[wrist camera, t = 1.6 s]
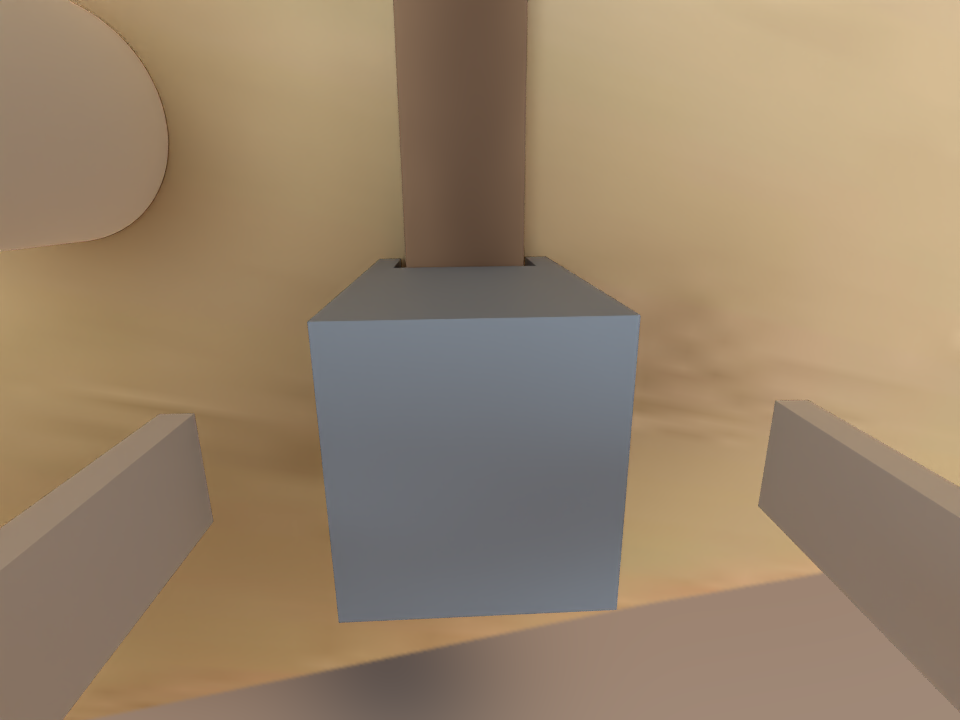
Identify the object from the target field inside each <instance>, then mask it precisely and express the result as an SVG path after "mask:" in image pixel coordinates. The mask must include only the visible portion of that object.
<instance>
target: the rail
mask: <svg viewBox="0 0 960 720" xmlns="http://www.w3.org/2000/svg"><path fill="white" fill-rule="evenodd" d="M393 5H394V26H395V47H396V68H397V88H398V109H399V130H400V151H401V172H402V192H403V213H404V234H405V255H406V268H420V267H488V266H523V262H524V198H525V134H526V70H527V6H528V0H393Z"/></svg>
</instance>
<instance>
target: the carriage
mask: <svg viewBox="0 0 960 720" xmlns="http://www.w3.org/2000/svg"><path fill="white" fill-rule="evenodd" d="M307 323H308V333H309V342H310V352H311V361H312V371H313V380H314V390H315V399H316V409H317V418H318V428H319V437H320V447H321V456H322V466H323V476H324V485H325V495H326V504H327V514H328V523H329V533H330V542H331V552H332V561H333V571H334V580H335V590H336V599H337V609H338V618H339V623H342V622H364V621H386V620H407V619H429V618H450V617H472V616H493V615H515V614H536V613H558V612H579V611H601V610H617V598H618V585H619V573H620V561H621V549H622V536H623V524H624V512H625V499H626V487H627V475H628V463H629V450H630V438H631V426H632V413H633V401H634V389H635V377H636V364H637V352H638V340H639V327H640V315H639V314H638V313H636V312H634V311H633V310H631V309H629V308H628V307H626V306H625V305H623V304H621V303H620V302H618V301H617V300H615V299H613V298H612V297H610V296H608V295H607V294H605V293H604V292H602V291H600V290H599V289H597V288H596V287H594V286H592V285H591V284H589V283H587V282H586V281H584V280H583V279H581V278H579V277H578V276H576V275H575V274H573V273H571V272H570V271H568V270H566V269H565V268H563V267H562V266H560V265H558V264H557V263H555V262H554V261H552V260H550V259H549V258H547V257H525V266H488V267H420V268H401V259H379V260H378V261H377V262H376V263H375V264H373V265H372V266H371V267H370V268H369V269H368V270H366V271H365V272H364V273H363V274H362V275H361V276H360V277H358V278H357V279H356V280H355V281H354V282H353V283H352V284H350V285H349V286H348V287H347V288H346V289H345V290H343V291H342V292H341V293H340V294H339V295H338V296H337V297H335V298H334V299H333V300H332V301H331V302H330V303H328V304H327V305H326V306H325V307H324V308H323V309H322V310H320V311H319V312H318V313H317V314H316V315H315V316H313V317H312V318H311V319H310V320H309V321H308V322H307Z"/></svg>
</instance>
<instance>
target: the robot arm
mask: <svg viewBox="0 0 960 720" xmlns="http://www.w3.org/2000/svg"><path fill="white" fill-rule="evenodd" d="M758 506H759V507H760V508H761V509H762V510H763V511H764V512H765V513H766V514H767V515H768V516H769V517H770V519H771V520H772V521H773V522H774V523H775V524H776V525H777V526H778V527H779V528H780V529H781V530H782V531H783V532H784V533H785V534H786V535H787V536H788V537H789V538H790V539H791V540H792V541H793V542H794V543H795V544H796V545H797V546H798V547H799V548H800V549H801V550H802V551H803V552H804V553H805V554H806V555H807V556H808V557H809V558H810V559H811V561H812V562H813V563H814V564H815V565H816V566H817V567H818V568H819V569H820V570H821V571H822V572H823V573H824V574H825V575H826V576H827V577H828V578H829V579H830V580H831V581H832V582H833V583H834V584H835V585H836V586H837V587H838V588H839V589H840V590H841V591H842V592H843V593H844V594H845V595H846V596H847V597H848V598H849V599H850V600H851V601H852V603H854V605H855V606H857V608H858V609H859V610H860V611H861V612H862V613H863V614H864V615H865V616H866V617H867V618H868V619H869V620H870V621H871V622H872V623H873V624H874V625H875V626H876V627H877V628H878V629H879V630H880V631H881V632H882V633H883V634H884V635H885V636H886V637H887V638H888V639H889V640H890V641H891V642H892V643H893V644H894V646H896V648H897V649H898V650H899V651H900V652H901V653H902V654H903V655H904V656H905V657H906V658H907V659H908V660H909V661H910V662H911V663H912V664H913V665H914V666H915V667H916V668H917V669H918V670H919V671H920V672H921V673H922V674H923V675H924V676H925V677H926V678H927V679H928V680H929V681H930V682H931V683H932V684H933V685H934V686H935V687H936V689H938V691H939V692H940V693H941V694H942V695H943V696H944V697H945V698H946V699H947V700H948V701H949V702H950V703H951V704H952V705H953V706H954V707H955V708H956V709H957V710H958V711H959V712H960V487H959V486H957V485H955V484H953V483H952V482H950V481H948V480H946V479H945V478H943V477H941V476H939V475H938V474H936V473H934V472H932V471H931V470H929V469H927V468H926V467H924V466H922V465H920V464H919V463H917V462H915V461H913V460H912V459H910V458H908V457H906V456H905V455H903V454H901V453H899V452H898V451H896V450H894V449H892V448H891V447H889V446H887V445H886V444H884V443H882V442H880V441H879V440H877V439H875V438H873V437H872V436H870V435H868V434H866V433H865V432H863V431H861V430H859V429H858V428H856V427H854V426H852V425H851V424H849V423H847V422H846V421H844V420H842V419H840V418H839V417H837V416H835V415H833V414H832V413H830V412H828V411H826V410H825V409H823V408H821V407H819V406H818V405H816V404H814V403H812V402H811V401H809V400H780V401H775V406H774V412H773V418H772V424H771V430H770V436H769V443H768V449H767V455H766V461H765V467H764V473H763V479H762V486H761V492H760V498H759V504H758ZM212 523H213V517H212V511H211V505H210V499H209V494H208V488H207V482H206V477H205V471H204V465H203V460H202V454H201V448H200V443H199V437H198V431H197V426H196V420H195V414H194V413H187V414H159V415H157V416H156V417H154V418H153V419H152V420H150V421H149V422H147V423H146V424H145V425H143V426H142V427H140V428H139V429H138V430H136V431H135V432H133V433H132V434H131V435H129V436H128V437H126V438H125V439H124V440H122V441H121V442H120V443H118V444H117V445H115V446H114V447H113V448H111V449H110V450H108V451H107V452H106V453H104V454H103V455H101V456H100V457H99V458H97V459H96V460H94V461H93V462H92V463H90V464H89V465H87V466H86V467H85V468H83V469H82V470H80V471H79V472H78V473H76V474H75V475H74V476H72V477H71V478H69V479H68V480H67V481H65V482H64V483H62V484H61V485H60V486H58V487H57V488H55V489H54V490H53V491H51V492H50V493H48V494H47V495H46V496H44V497H43V498H41V499H40V500H39V501H37V502H36V503H35V504H33V505H32V506H30V507H29V508H28V509H26V510H25V511H23V512H22V513H21V514H19V515H18V516H16V517H15V518H14V519H12V520H11V521H9V522H8V523H7V524H5V525H4V526H2V527H1V528H0V720H63V719H64V717H65V716H66V715H67V713H68V712H69V711H70V709H71V708H72V707H73V705H74V704H75V703H76V702H77V700H78V699H79V698H80V696H81V695H82V694H83V692H84V691H85V690H86V688H87V687H88V686H89V684H90V683H91V682H92V680H93V679H94V678H95V677H96V675H97V674H98V673H99V671H100V670H101V669H102V667H103V666H104V665H105V663H106V662H107V661H108V659H109V658H110V657H111V656H112V654H113V653H114V652H115V650H116V649H117V648H118V646H119V645H120V644H121V642H122V641H123V640H124V638H125V637H126V636H127V634H128V633H129V632H130V631H131V629H132V628H133V627H134V625H135V624H136V623H137V621H138V620H139V619H140V617H141V616H142V615H143V613H144V612H145V611H146V610H147V608H148V607H149V606H150V604H151V603H152V602H153V600H154V599H155V598H156V596H157V595H158V594H159V592H160V591H161V590H162V588H163V587H164V586H165V585H166V583H167V582H168V581H169V579H170V578H171V577H172V575H173V574H174V573H175V571H176V570H177V569H178V567H179V566H180V565H181V564H182V562H183V561H184V560H185V558H186V557H187V556H188V554H189V553H190V552H191V550H192V549H193V548H194V546H195V545H196V544H197V542H198V541H199V540H200V539H201V537H202V536H203V535H204V533H205V532H206V531H207V529H208V528H209V527H210V525H211V524H212Z"/></svg>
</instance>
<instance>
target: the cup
mask: <svg viewBox="0 0 960 720" xmlns="http://www.w3.org/2000/svg"><path fill="white" fill-rule="evenodd" d="M167 158H168V131H167V124H166V118H165V114H164V110H163V106H162V103H161V100H160V97H159V95H158V92H157V90H156V88H155V85H154V83H153V81H152V79H151V77H150V75H149V74H148V72H147V70H146V68H145V67H144V65H143V64H142V62H141V61H140V59H139V58H138V56H137V55H136V54H135V53H134V51H133V50H132V49H131V48H130V46H129V45H128V44H127V43H126V42H125V41H124V40H123V39H122V38H121V37H120V36H119V35H118V34H117V33H116V32H115V31H114V30H113V29H112V28H111V27H110V26H108V25H107V24H106V23H104V22H103V21H102V20H101V19H99V18H98V17H97V16H95V15H93V14H92V13H90V12H89V11H87V10H86V9H84V8H82V7H80V6H78V5H76V4H75V3H73V2H71V1H69V0H0V251H9V250H17V249H25V248H34V247H42V246H51V245H59V244H67V243H76V242H84V241H92V240H96V239H100V238H103V237H106V236H109V235H112V234H114V233H116V232H118V231H120V230H122V229H124V228H125V227H127V226H129V225H130V224H131V223H133V222H134V221H135V220H136V219H138V218H139V217H140V216H141V215H142V214H143V213H144V212H145V210H146V209H147V208H148V207H149V205H150V204H151V203H152V201H153V199H154V198H155V196H156V194H157V192H158V190H159V188H160V186H161V183H162V180H163V177H164V174H165V170H166V165H167Z"/></svg>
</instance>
